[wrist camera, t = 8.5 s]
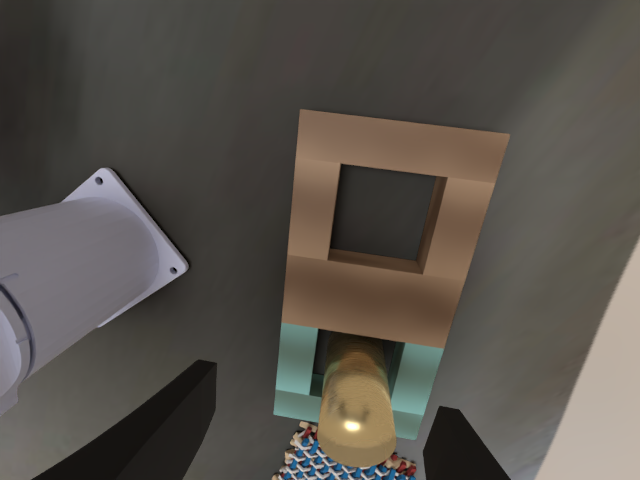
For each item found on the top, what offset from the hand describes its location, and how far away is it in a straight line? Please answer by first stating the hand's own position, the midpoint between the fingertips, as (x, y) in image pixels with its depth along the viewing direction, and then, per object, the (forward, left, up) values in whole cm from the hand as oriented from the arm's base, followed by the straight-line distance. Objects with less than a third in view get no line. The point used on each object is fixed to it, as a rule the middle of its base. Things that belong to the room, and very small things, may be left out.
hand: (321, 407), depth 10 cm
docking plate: (+1, -2, -10) cm, 11 cm away
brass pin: (-2, -5, -10) cm, 12 cm away
